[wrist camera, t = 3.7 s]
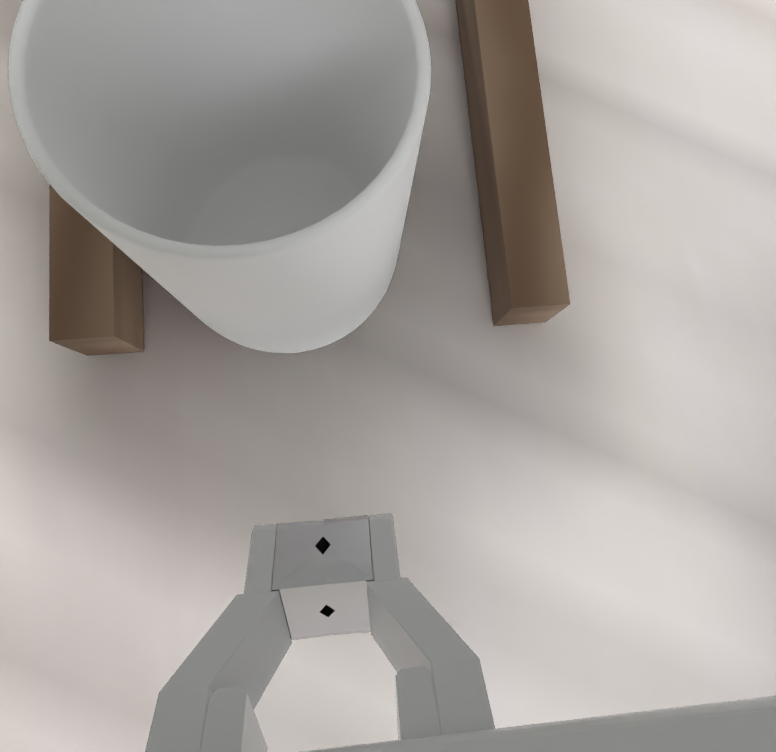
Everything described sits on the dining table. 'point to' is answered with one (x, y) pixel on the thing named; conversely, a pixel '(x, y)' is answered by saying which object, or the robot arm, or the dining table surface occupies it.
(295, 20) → the mug
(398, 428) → the dining table surface
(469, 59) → the guide channel
